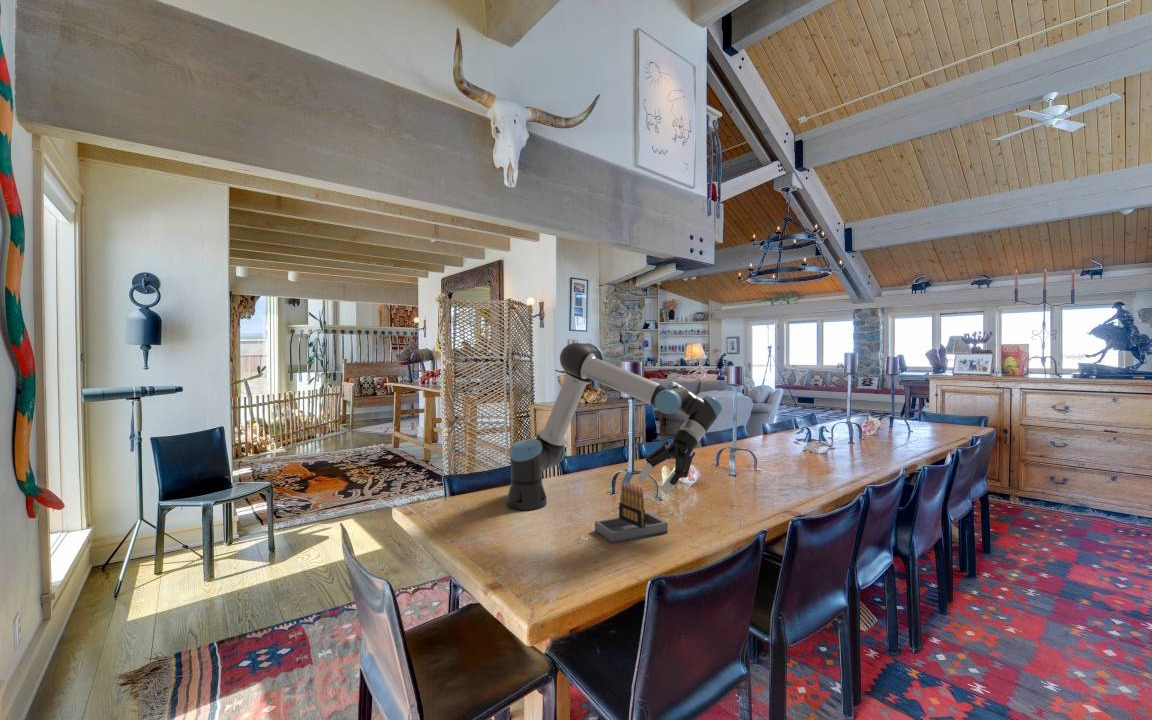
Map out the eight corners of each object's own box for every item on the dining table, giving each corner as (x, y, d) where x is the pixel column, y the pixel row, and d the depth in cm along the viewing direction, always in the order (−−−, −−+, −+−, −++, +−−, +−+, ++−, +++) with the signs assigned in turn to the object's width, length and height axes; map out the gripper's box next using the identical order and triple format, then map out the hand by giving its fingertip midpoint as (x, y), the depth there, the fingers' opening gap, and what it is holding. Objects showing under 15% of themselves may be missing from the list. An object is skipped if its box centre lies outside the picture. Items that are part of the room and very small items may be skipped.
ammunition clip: (618, 518, 148) (618, 481, 148) (623, 516, 150) (623, 480, 149) (641, 528, 140) (640, 488, 140) (645, 526, 141) (645, 487, 141)
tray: (594, 530, 145) (594, 521, 145) (648, 521, 154) (647, 512, 154) (611, 543, 135) (611, 533, 135) (667, 532, 144) (667, 522, 144)
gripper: (721, 449, 143) (682, 504, 137) (672, 437, 166) (637, 483, 159) (707, 434, 141) (667, 488, 135) (660, 423, 163) (624, 470, 157)
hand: (650, 486), depth 147 cm, fingers open, 13 cm apart
